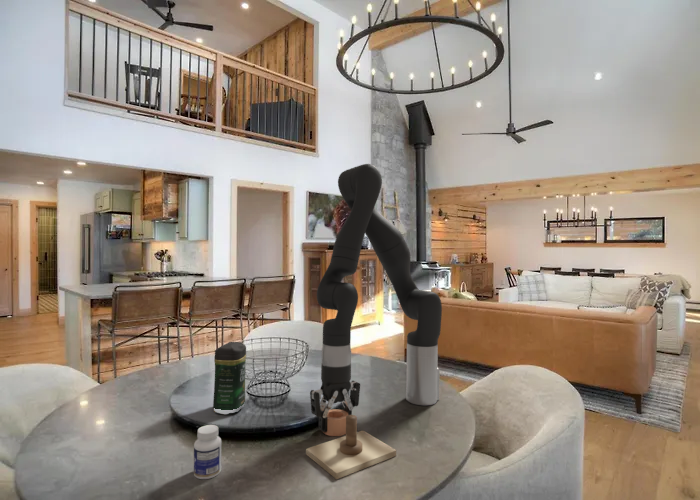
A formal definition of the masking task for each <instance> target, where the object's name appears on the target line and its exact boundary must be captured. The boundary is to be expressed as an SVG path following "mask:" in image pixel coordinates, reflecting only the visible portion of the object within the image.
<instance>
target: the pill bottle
mask: <svg viewBox="0 0 700 500" xmlns="http://www.w3.org/2000/svg"><path fill="white" fill-rule="evenodd" d="M196 434H197V435H196V436H197V437H196V438H197V439H195V441H194V443H193V476H194V477H195V478H197V479H200V480H208V479H212V478H215V477H216V476H218V475H219V474H220V473H221V471H222V445H223V444H222V443H223V442H222V438H221V437H220V436H219V427H218V426H217V425H215V424H207V425H203V426H201V427H199V428H198V429H197V433H196Z"/></svg>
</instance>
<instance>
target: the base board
mask: <svg viewBox="0 0 700 500" xmlns="http://www.w3.org/2000/svg"><path fill="white" fill-rule="evenodd" d="M345 439H346V435H343V436H340V437H338V438H335V439H332V440H329V441H325V442H322V443H318V444H317V445H313V446H310V447H308V448H306V449H305V455H307V457H308V458H310V459H311V460H313V461H314V462H315V463H316V464H317V465H318V466H319V467H321V468H322V469H323V470H324V471H326V473H328V474H329V475H331V477H333V478H334V479H335V480H338V479H341V478H344V477H346V476H349V475H351V474H355V473H356V472H359V471H361V470H364V469H366V468H369V467H372V466H374V465H376V464H379V463H381V462H384V461H387V460H390V459H392V458H394V457H396V456H397V450H396V449H395V448H394V447H391V446H390V445H389V444H387V443H384V442H383V441H381V440H380V439H378V438H377V437H375V436H373V435H371V434H370V433H368V432H366V431H365V430H359V431H357V440H359V441H361V442H362V452H361V453H360V454H357V455H346V454H343V453H342V452H341V451H340V442H341V441H343V440H345Z"/></svg>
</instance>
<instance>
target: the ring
mask: <svg viewBox="0 0 700 500" xmlns="http://www.w3.org/2000/svg"><path fill="white" fill-rule="evenodd" d="M346 416H348V412H346V411H344V410H343V409H334V408H333V409H332V408H331V409H330V410H329V412H328V414H327V416H326V417H328V418H327V432H325V433H324V432H322V433H323V434H325V435H326V436H330V437H343V436H346Z"/></svg>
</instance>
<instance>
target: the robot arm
mask: <svg viewBox="0 0 700 500" xmlns="http://www.w3.org/2000/svg"><path fill="white" fill-rule="evenodd" d="M382 184H383V177H382V174H381V171H380V170H379V169H378V167H376V166H375V165H374V164H371V163H365V164H364V163H363V164H360V165H357V166H354V167H351V168H348V169H346V170H344V171H342V172H341V173H340V174H339V175H338V179H337V185H338V191H339V193H340V194H341V197H342V198H343V200H344V202H345V203H346V205H347V206H348V208H349V209H350V212H349V215H348V216H347V218H346V220H345V222H344V224H343V225H342V227H340V230H339V232H338V233H337V235H336V239H335V241H334V244H333V249H332V252H331V253H332V254H331V258H330V263H329V265H328V266H327V267H326V271H325V272H324V275H323V276H322V278H321V279H320V281H319V284H318V286H317V291H316V301H317V303H318V305H319V306H320V308H323V309H327V310H334V311H337V312H336V315H335V317H334V318H329V319H326V320H325V321H323V325H322V347H321V362H320V363H321V364H320V365H321V367H320V368H321V371H320V374H321V375H320V380H321V386H320V388H319V389H317V390H314V389H311V390H310V392H309V396H310V397H309V398H310V410H311V414H312V415H314V416H316V417H317V418H318V429H319V430H320V431H321V432H322V433H323V432H324V433H323V434H325V432H327V418H328V417H326V416H327V414H328V412H329V410H332V408H333V405H334V404H335V405H336V403H342V406H343V407H344V408H343V409H342V410H344V411H346V412H348V415H353V413H352V412H353V409H354V408H355V407H358V406H359V403H360V393H361V392H360V391H361V383H360V382H357V381H356V380H352V381H351V379H352V347H351V333H352V331H351V330H352V329H351V327H352V324H353V320H354V316H355V312H356V309H357V306H358V300H359V293H358V290H357V288H356V287H355V285H354V284H352V283H351V282H346V281H345V282H343V279H344V278H345V277H347V276H348V277H349V276H353V275H354V274H355V273H356V272H357V269H358V265H359V260H360V256H361V255H360V254H361V250H362V245H363V242H364V237H365V235H366V237H367V240H369V243H370V245H371V248H372V249H373V251H374V253H375V255H376V257H377V258H378V261H379V262H380V264H381V266H382V267H383V269H384V271H385V273H386V275H387V277H388V279H389V281H390V284H391V286H392V288H393V289H394V292H395V294H396V297H397V299H398V300H397V301H398V302H399V305H400V308H401V310H402V311H403V314H405V316H406V317H407V318H410V319H411V320H414V321H417V323H416V324H417V325H416V329H415V330H414V331H410V332H408V333H407V336H406V389H405V390H406V391H405V393H406V394H405V396H406V397H405V399H406V401H407V402H408V403H411V404H412V405H416V406H432V405H435V404H436V403H437V402H438V401H439V400H440V372H441V370H440V368H439V367H438V361H439V360H438V355H439V354H438V353H439V351H438V350H439V349H438V348H439V347H438V343H439V342H438V341H439V337H440V336H441V329H442V328H441V327H442V317H443V316H442V313H443V312H442V311H443V307H442V300H441V298H440V296H439V294H437V293H436V292H434V291H427V290H423V289H422V290H421V289H419V288H418V286H417V284H416V283H415V281H414V279H413V277H412V274H411V258H412V257H411V252H410V248H409V246H408V244H407V242H406V240H405V237H404V236H403V234H402V232H401V231H400V230H399V228H397V227H396V225H394V223H392V222H391V221H390V220H388V219H387V218H386V217H385V216H383V214H381V213H380V212H379V211H378V209H377V208H376V207H375V206H376V204H377V200H378V199H379V196H380V193H381V190H382Z"/></svg>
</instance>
